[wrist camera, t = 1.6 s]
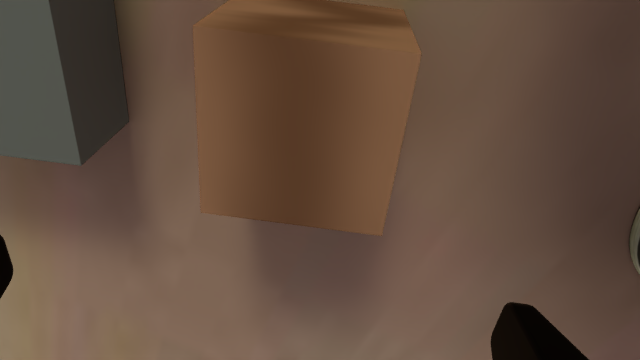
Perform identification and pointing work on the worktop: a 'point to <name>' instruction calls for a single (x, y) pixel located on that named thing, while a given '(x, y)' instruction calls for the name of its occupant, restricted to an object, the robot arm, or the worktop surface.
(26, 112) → the slate block
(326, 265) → the worktop surface
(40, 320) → the worktop surface
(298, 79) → the terracotta cube
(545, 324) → the robot arm
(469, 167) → the worktop surface
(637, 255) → the coffee can
